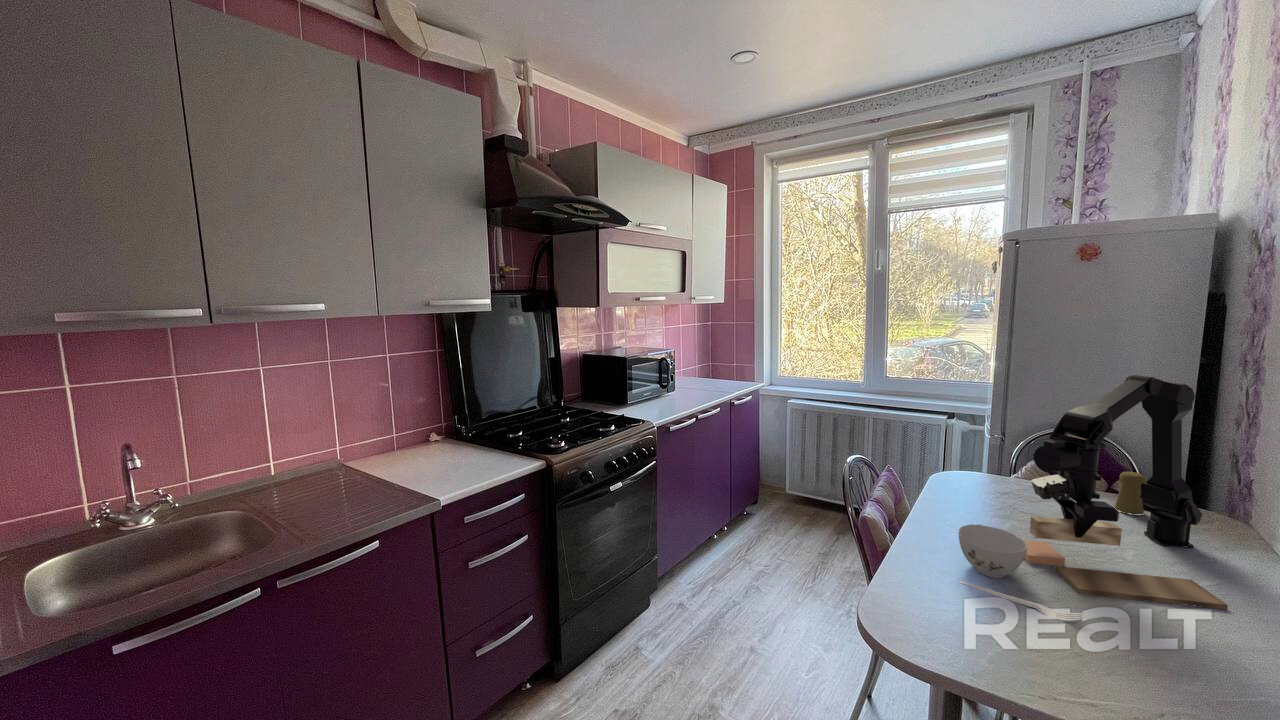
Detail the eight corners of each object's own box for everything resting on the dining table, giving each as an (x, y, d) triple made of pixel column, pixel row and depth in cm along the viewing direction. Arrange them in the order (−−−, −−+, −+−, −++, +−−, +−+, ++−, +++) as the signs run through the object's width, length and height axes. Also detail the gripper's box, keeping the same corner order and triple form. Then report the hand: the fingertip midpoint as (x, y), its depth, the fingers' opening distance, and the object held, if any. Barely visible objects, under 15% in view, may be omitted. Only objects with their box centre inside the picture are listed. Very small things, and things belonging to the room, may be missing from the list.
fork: (961, 582, 110) (961, 573, 110) (1083, 621, 96) (1084, 612, 96) (956, 588, 108) (957, 579, 108) (1081, 629, 94) (1082, 619, 93)
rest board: (1190, 584, 107) (1191, 579, 106) (1227, 609, 98) (1227, 604, 98) (1055, 570, 113) (1055, 566, 113) (1078, 593, 104) (1078, 588, 104)
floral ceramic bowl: (1007, 593, 104) (1010, 556, 103) (944, 566, 115) (946, 532, 114) (1041, 572, 112) (1044, 537, 111) (979, 548, 123) (981, 516, 122)
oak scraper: (1111, 539, 116) (1113, 522, 116) (1119, 545, 113) (1121, 528, 113) (1029, 532, 120) (1031, 515, 120) (1035, 537, 117) (1037, 521, 117)
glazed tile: (1046, 542, 122) (1012, 539, 124) (1065, 558, 114) (1028, 555, 116) (1045, 550, 122) (1012, 547, 124) (1064, 567, 114) (1028, 564, 116)
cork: (1122, 514, 140) (1126, 475, 138) (1109, 506, 145) (1113, 468, 144) (1149, 517, 138) (1154, 477, 137) (1135, 508, 144) (1139, 470, 142)
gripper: (1019, 452, 126) (1014, 513, 128) (1060, 479, 108) (1053, 549, 110) (1073, 455, 123) (1067, 518, 125) (1124, 483, 105) (1116, 555, 107)
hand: (1074, 533), depth 117 cm, fingers closed on oak scraper, 3 cm apart
